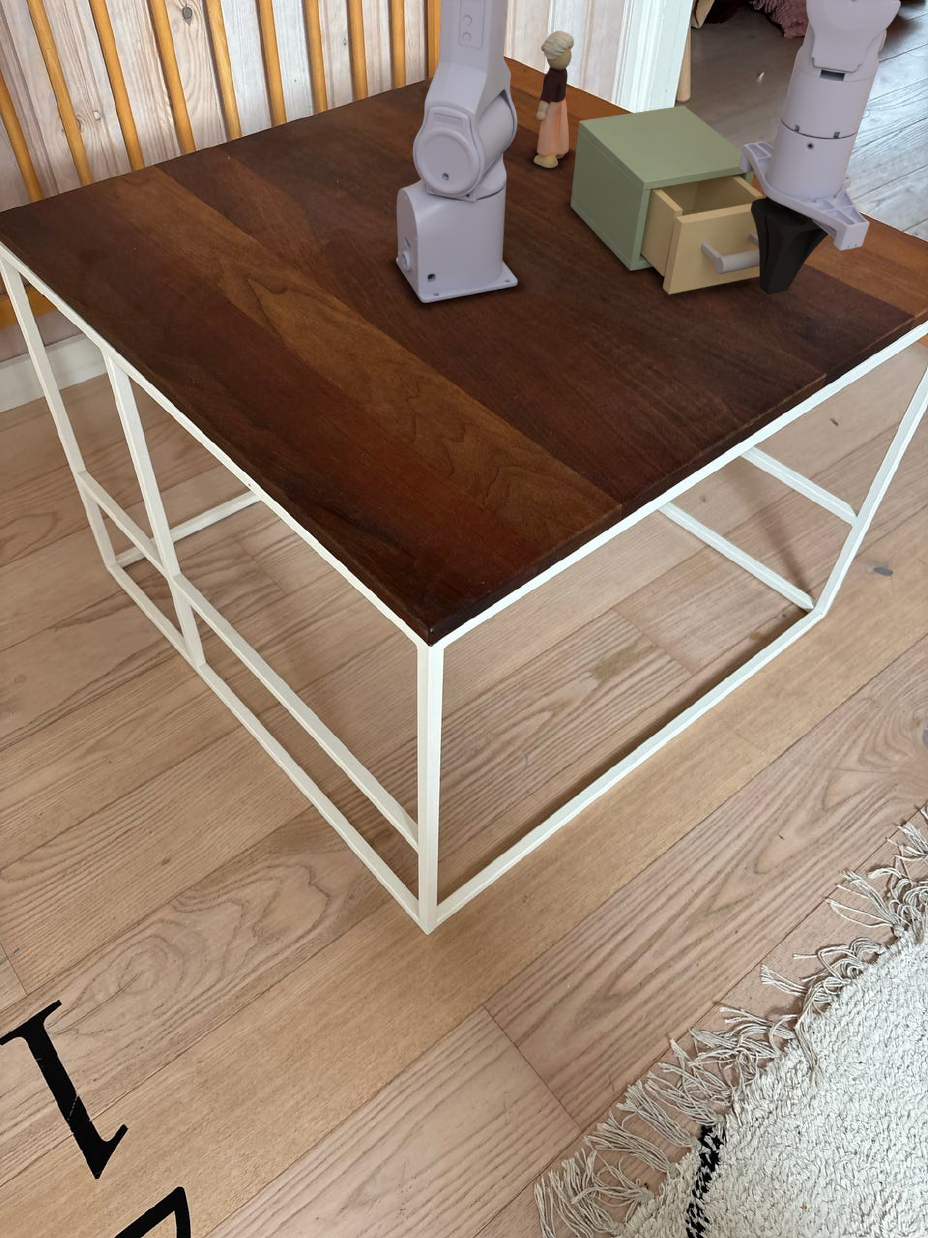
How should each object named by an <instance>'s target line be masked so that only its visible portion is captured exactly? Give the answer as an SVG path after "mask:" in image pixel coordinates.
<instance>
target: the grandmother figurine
mask: <svg viewBox="0 0 928 1238" xmlns="http://www.w3.org/2000/svg"><path fill="white" fill-rule="evenodd" d="M574 46H575V39H574V36H573V35H571V34H570V33H568V32H565V31H564V30H556V31H553V32H552V33H550V34H549V35H548V37H547V38H546V39H545V40H544V42H543V44H542V45H541V46H540V49H541V51H542V52H543V54H544V57H545V58H546V62H547V64H548V66H549V69H548V70H547V72H546V74H545V75H544V78H543V83H542V90H541V94H540V97H539V104H538V108H537V112H536V114H535V118H536V120H537V121H538V122H540V126H539V132H538V139H537V148H536V153H537V155H535V157H534V159H533V163H534V164H536V165H538V166H541V167H543V168H546V169H547V168H548V169H552V168H555V167H557V166H558V165H559V161H558V159H561V158H563V157H564V156H565V154H567V153H569V150H570V148H569V147H570V136H569V133H570V132H569V120H568V119H569V118H568V107H567V100H566V96H567V93H568V75H569V74H568V73H569V72H568V70H567V67H569V66H570V63H571V61H572V57H573V55H572V49H573V47H574Z"/></svg>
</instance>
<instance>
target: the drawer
mask: <svg viewBox="0 0 928 1238" xmlns="http://www.w3.org/2000/svg"><path fill="white" fill-rule="evenodd" d="M763 196H764V195H763V194H762V193H761V192H760V191H759V190H757V189H756V188H755V187H753V185H752V184H751V185H750V184H749V183H747V182H746V181H745V180H744V179H743V178H741V177H740V176H739V175H738V174H737V175H731V176H725V177H719V178H713V179H708V180H702V181H696V182H690V183H684V184H678V185H672V186H666V187H660V188H654V189H650V195H649V202H648V208H647V214H646V220H645V226H644V232H643V239H642V245H641V251H640V253H641V254H642V255H643V256H644V257H645V258H646V259H647V260H648V261H649V262H650V263H651V264H652V265H653V268H654V269H655V270H656V271H657V272H658V273H659V274H660V275H661V276H662V277H664V280H663V285H662V289H663V290H664V291H665V293H667V294H668V295H672V294H673V295H674V294H679V293H683V292H687V291H692V290H693V291H694V290H697V289H704V288H708V287H713V286H717V285H722V284H729V283H732V282H733V283H734V282H738V281H744V280H749V279H753V278H759V243H758V235H757V230H756V225H755V222H754V218H753V215H752V213H751V206H752V202H753V201H755V200H757V199H762V198H764V197H763Z"/></svg>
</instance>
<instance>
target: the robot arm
mask: <svg viewBox="0 0 928 1238" xmlns="http://www.w3.org/2000/svg"><path fill="white" fill-rule="evenodd" d="M901 4H902V3H901V1H900V0H805V5H806V6H805V8H806V9H805V10H806V16H807V19H808V23H807V27H806V31H805V35H804V38H803V39H804V40H803V42H802V45H801V46H800V47H799V49H798V50H797V53H796V56H795V59H794V63H793V68H792V72H791V76H790V79H789V83H788V88H787V92H786V96H785V100H784V105H783V108H782V112H781V116H780V119H779V124H778V128H777V132H776V136H775V140H774V144H773V146H772V145H770V144H768V143H767V142H766V141H758V142H757V141H756V142H751V143H745V144H743V146H742V149H741V152H742V154H741V159H740V163H739V168H740V169H741V170H742V171H744V172H751V171H752V172H753V173H754V175H755V176H756V179H757V181H758V183H759V185H760V188H761V190H762V192H763V193H764V195H765V197H762V199H757V200H755V201H753V202H752V206H751V213H752V215H753V218H754V222H755V225H756V230H757V235H758V243H759V276H758V279H759V281H758V282H759V288H760V289H761V290H762V291H763V292H764V293H766V295H774V294H778V293H783V292H788V290H789V288H790V287H791V285H792V283H793V282H794V280H795V279H796V276H797V275H798V274H799V272H800V270H801V269H802V267H803V266H804V264H805V263H806V261H807V260H808V258H809V257H810V256H811V254H812V253H813V251H814V250H815V249H816V248H817V247H818V246H819V245H820V244H821V243H822V242H823V241H824V239H825V238H827V236H828V235H829V236H830V237H831V238H832V239H833V240H834V241H833V244H832V245H833V246H834V247H835V248H836V249H837V250H838V251H840V252H841V251H846V250H852V249H856V248H861V247H863V244H864V241H865V238H866V236H867V232H868V230H869V227H870V223H871V222H870V221H869V220H867V219H866V218H865V217H864V216H863V215H862V214H861V213H860V211H859V210H858V208H857V206H856V204H855V203H854V201H853V199H852V197H851V195H850V194H849V192H848V190H847V189H848V188H850V186H851V184H852V183H851V182H852V179H853V178H852V177H851V176H850V175H848V173H846V172H847V169H848V165H849V163H850V159H851V156H852V153H853V150H854V146H855V143H856V139H857V137H858V133H859V130H860V128H861V124H862V121H863V118H864V114H865V111H866V107H867V106H868V105H867V104H868V101H869V99H870V95H871V92H872V88H873V85H874V82H875V79H876V75H877V72H878V69H879V66H880V65H879V64H880V59H879V54H880V52H881V51H882V50H883V48H884V45H885V41H886V38H887V28H888V27H889V26H890V25H891V23H892V22H893V21H894V19H895V18H896V16H897V14H898V13H899V10H900V7H901V6H902V5H901ZM508 7H509V0H440V11H439V12H440V13H439V45H438V46H439V48H438V64H437V67H436V70H435V71H434V75H433V78H432V80H431V83H430V86H429V88H428V91H427V94H426V96H425V100H424V114H423V120H422V124H421V126H420V128H419V130H418V131H417V134H416V135H415V137H414V140H413V144H412V159H413V165H414V167H415V171H416V173H417V175H418V176H419V177H420V180H418V181H416V182H415V183H413V184H410V185H408V186H405V187H402V188H400V189H398V192H397V196H396V232H397V233H396V234H397V257H396V258H395V263H396V264H397V266H398V268H399V270H400V271H401V272H402V274H403V275H404V277H405V278H406V280H407V282H408V283H409V285H410V286H411V288H412V289H413V292H414V293H415V294H416V296H417V297H418V299H419V301H420V302H422V303H423V304H427V303H433V302H439V301H443V300H449V299H454V298H459V297H464V296H470V295H476V294H480V293H486V292H491V291H496V290H502V289H506V288H512V287H516V286H517V285H518V283H519V281H518V280H519V279H517V277H516V276H515V275H514V273H513V272H512V271H511V269H509V267H508V265H507V264H506V263H505V261H504V260H503V255H504V237H505V235H504V234H505V218H506V217H505V213H506V195H507V176H508V175H507V171H506V170H507V169H506V167H505V163H504V152H505V151H506V150H507V149H508V148H509V147H510V146H511V144H512V143H513V142H514V139H515V137H516V134H517V130H518V115H517V110H516V107H515V105H514V102H513V99H512V94H511V77H512V74H511V70H510V68H509V66H508V64H507V62H506V61H505V48H506V47H505V46H506V45H505V44H506V33H507V32H506V31H507V19H508Z"/></svg>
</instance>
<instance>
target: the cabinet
mask: <svg viewBox="0 0 928 1238" xmlns="http://www.w3.org/2000/svg"><path fill="white" fill-rule="evenodd" d="M741 154H742V150H740V149H739V148H737V147H736V146H735V145H734V144H732V143H731V142H730V141H729V140H727V139H726V138H725V137H724V136H723V135H721V134H720V133H719V132H717V131H716V130H715V129H714V128H713V127H711V126H710V125H709V124H707V122H705V121H704V120H702V119H701V118H700V117H699V116H697V115H696V114H695V113H694V112H692V111H691V110H690V109H689V108H687V107H686V106H685V105H679V106H672V107H664V108H659V109H651V110H650V109H649V110H644V111H638V112H637V111H636V112H631V113H625V114H617V115H610V116H603V117H596V118H589V119H582V120H579V121H578V130H577V139H576V149H575V157H574V158H575V159H574V168H573V178H572V187H571V188H572V189H571V197H570V198H571V199H570V207H571V209H572V210H573V211H574V212H575V213H576V214H577V216H579V217H580V219H581V220H583V222H584V223H585V224H586V225H587V226H588V227H589V229H591V230H592V231H593V232H594V233H595V235H596V236H597V237H598V238H599V239H600V240H601V241H602V242H603V243H604V245H606V246H607V247H608V248H609V250H611V252H612V253H613V254H614V255H615V256H616V257H617V258H618V259H619V260H620V262H622V264H623V265H624V266H625V267H626V268H627V269H628V270H629V271H632V272H633V271H636V270H643V269H648V268H652V267H653V268H654V266H653V265H652V264H651V263H650V262H649V261H648V260H647V259H646V258H645V257H644V256H643V255H642V254H641V253H640V251H641V245H642V239H643V232H644V226H645V220H646V214H647V208H648V202H649V195H650V189H654V188H660V187H666V186H672V185H678V184H684V183H690V182H696V181H702V180H708V179H713V178H719V177H725V176H731V175H737V174H738V175H739V176H740V177H741V178H743V179H744V180H745V181H746V182H747V183H749V184H750V185H751V186H752V184H753V179H754V175H755V174H754V173H753V172H752V171H751V172H744V171H742V170H741V169H740V168H739V163H740V159H741Z"/></svg>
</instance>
